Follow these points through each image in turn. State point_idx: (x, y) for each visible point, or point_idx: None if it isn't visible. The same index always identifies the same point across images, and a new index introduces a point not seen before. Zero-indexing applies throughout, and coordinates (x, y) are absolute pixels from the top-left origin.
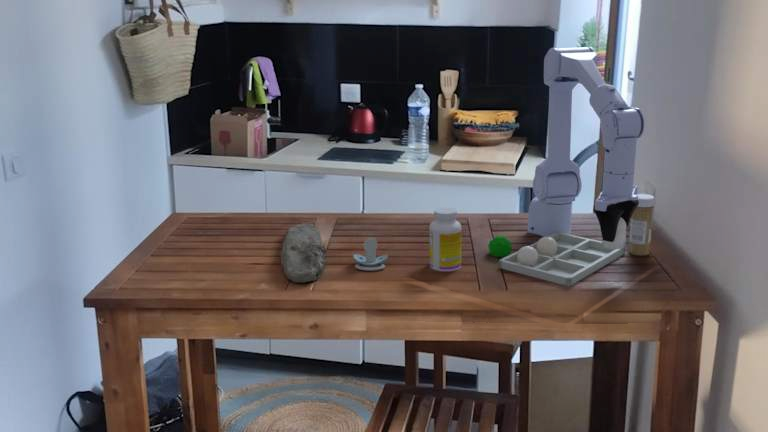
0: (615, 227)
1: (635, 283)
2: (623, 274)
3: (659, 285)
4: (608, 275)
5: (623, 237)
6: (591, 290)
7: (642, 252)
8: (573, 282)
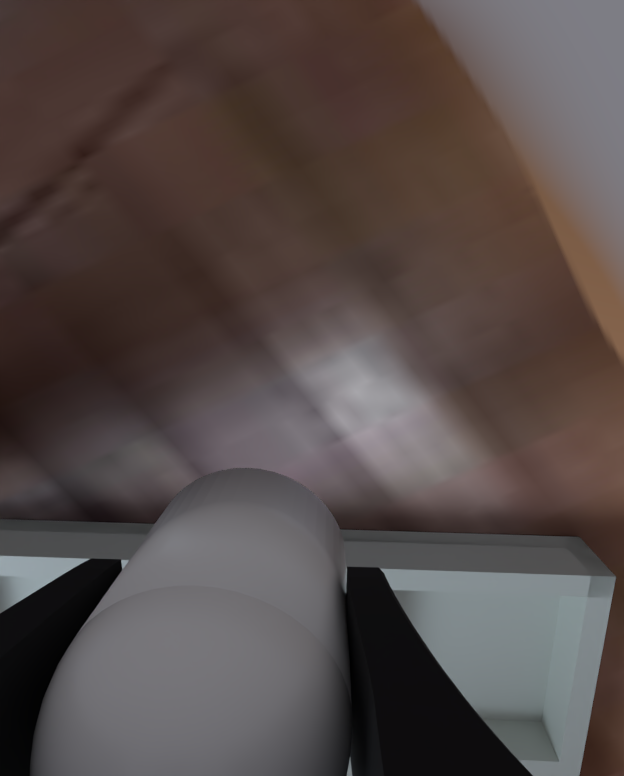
0: (442, 687)
1: (273, 309)
2: (191, 417)
3: (212, 182)
4: None
5: (248, 523)
6: (515, 451)
7: None
8: (550, 552)
